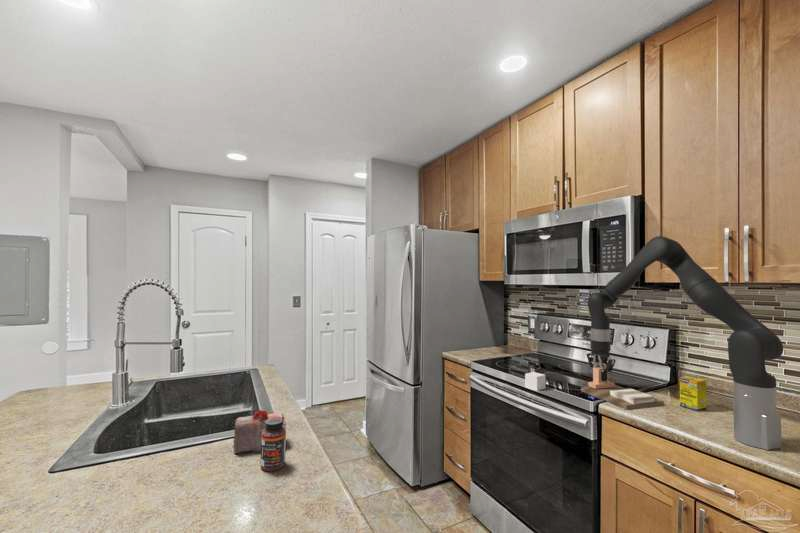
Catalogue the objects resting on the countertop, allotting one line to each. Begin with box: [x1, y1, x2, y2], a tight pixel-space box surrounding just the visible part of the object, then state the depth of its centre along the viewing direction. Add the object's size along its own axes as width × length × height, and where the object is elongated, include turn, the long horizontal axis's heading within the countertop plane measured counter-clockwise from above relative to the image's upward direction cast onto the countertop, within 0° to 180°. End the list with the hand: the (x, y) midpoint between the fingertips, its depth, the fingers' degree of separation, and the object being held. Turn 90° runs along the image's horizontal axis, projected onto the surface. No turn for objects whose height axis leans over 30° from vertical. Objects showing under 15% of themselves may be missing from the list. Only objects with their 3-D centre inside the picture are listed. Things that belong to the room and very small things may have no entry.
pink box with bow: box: [232, 409, 287, 455], centre depth 103 cm, size 14×8×10 cm, turn 114°
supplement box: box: [679, 375, 707, 412], centre depth 137 cm, size 6×6×11 cm
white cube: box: [524, 371, 546, 392], centre depth 159 cm, size 6×6×6 cm
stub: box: [587, 367, 616, 389], centre depth 156 cm, size 4×10×8 cm, turn 106°
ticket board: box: [580, 384, 665, 410], centre depth 147 cm, size 22×18×4 cm
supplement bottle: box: [260, 418, 287, 472], centre depth 93 cm, size 6×6×11 cm
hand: (600, 379), depth 157 cm, fingers closed on stub, 3 cm apart
